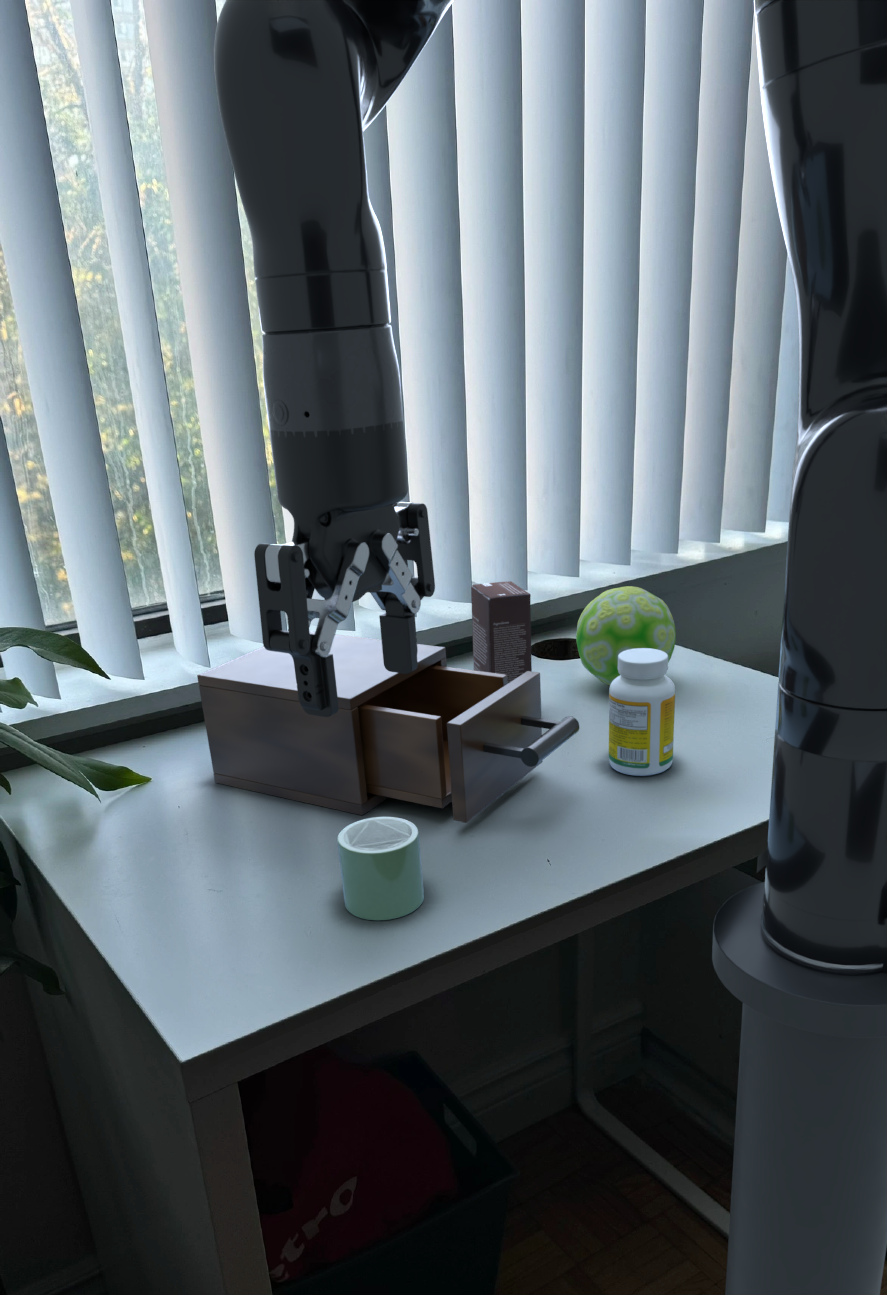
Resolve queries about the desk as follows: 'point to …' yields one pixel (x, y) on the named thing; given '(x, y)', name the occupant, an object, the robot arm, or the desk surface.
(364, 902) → the pot
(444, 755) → the drawer
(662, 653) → the supplement bottle
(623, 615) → the decorative ball
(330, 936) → the desk surface
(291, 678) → the cabinet
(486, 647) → the box
